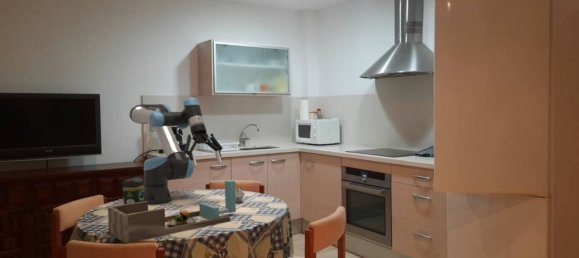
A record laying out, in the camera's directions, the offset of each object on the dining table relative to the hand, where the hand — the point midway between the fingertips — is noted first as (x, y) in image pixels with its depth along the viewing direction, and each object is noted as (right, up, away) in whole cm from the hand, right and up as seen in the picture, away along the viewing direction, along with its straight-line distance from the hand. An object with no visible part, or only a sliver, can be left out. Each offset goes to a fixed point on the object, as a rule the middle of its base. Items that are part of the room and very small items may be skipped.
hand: (207, 165), depth 203 cm
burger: (-5, -23, -29) cm, 37 cm away
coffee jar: (-29, -23, -20) cm, 41 cm away
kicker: (+9, -21, -17) cm, 29 cm away
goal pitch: (-8, -23, -32) cm, 40 cm away
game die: (+13, -21, +12) cm, 27 cm away
